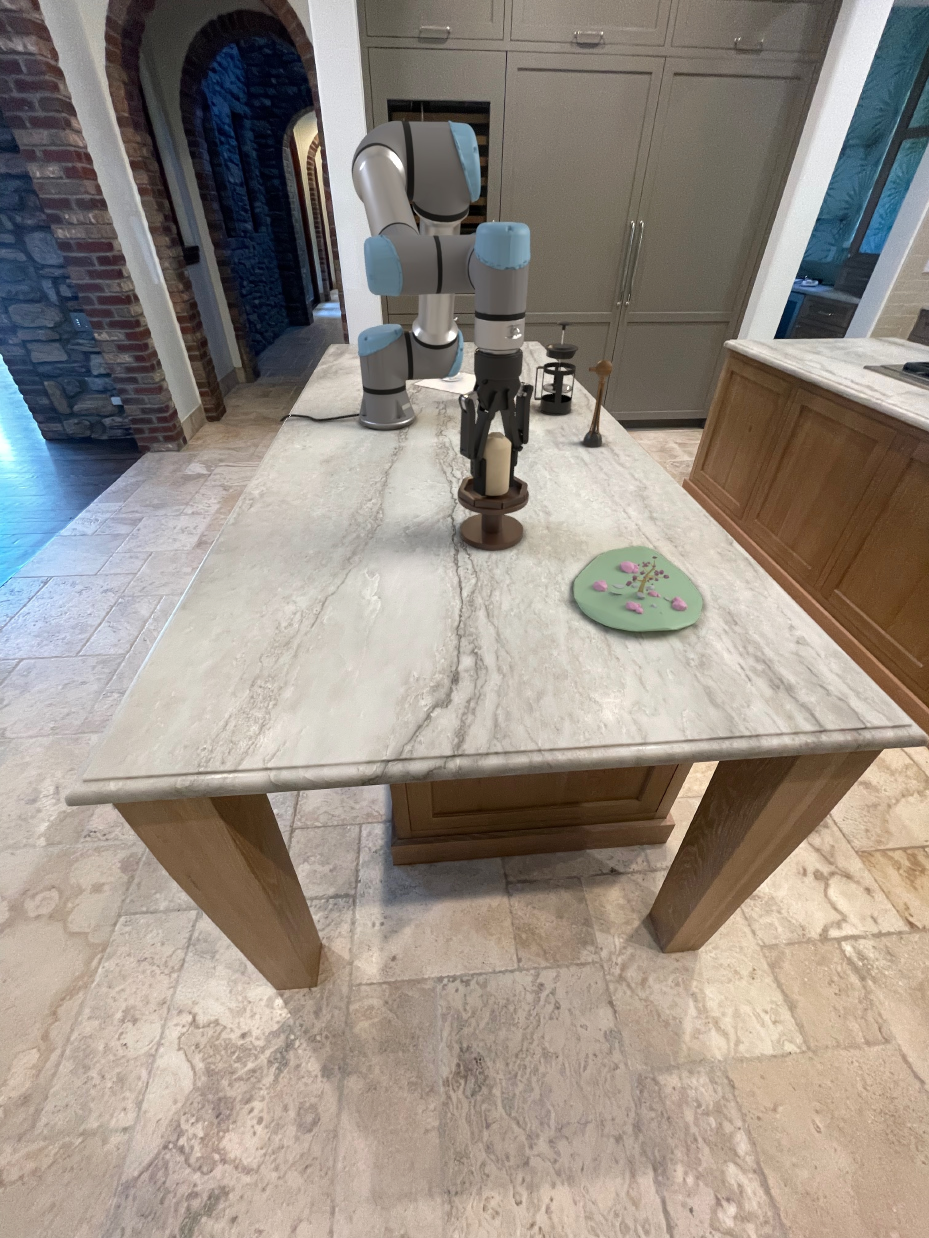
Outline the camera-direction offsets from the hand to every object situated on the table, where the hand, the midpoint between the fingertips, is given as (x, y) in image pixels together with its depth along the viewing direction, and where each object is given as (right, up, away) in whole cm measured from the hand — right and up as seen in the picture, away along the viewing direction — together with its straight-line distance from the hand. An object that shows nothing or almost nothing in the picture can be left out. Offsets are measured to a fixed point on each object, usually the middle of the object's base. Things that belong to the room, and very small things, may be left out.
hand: (493, 488), depth 97 cm
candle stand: (0, -7, +6) cm, 9 cm away
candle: (0, 0, 0) cm, 0 cm away
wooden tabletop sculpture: (+27, +21, +40) cm, 53 cm away
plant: (+23, -19, -8) cm, 31 cm away
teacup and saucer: (-8, +55, +82) cm, 99 cm away
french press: (+21, +37, +60) cm, 74 cm away
